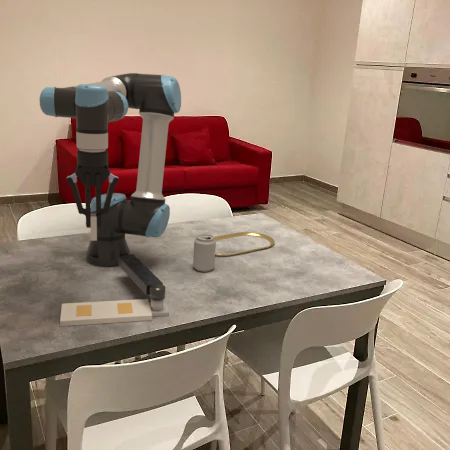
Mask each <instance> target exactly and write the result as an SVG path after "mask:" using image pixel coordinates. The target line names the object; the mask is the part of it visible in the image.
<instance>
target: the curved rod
mask: <svg viewBox="0 0 450 450" xmlns="http://www.w3.org/2000/svg"><path fill="white" fill-rule="evenodd" d="M245 236H249V237H257V238H261V239H264V240H267V241H268V242H269V245H268V246H263V247H257V248H253V249H248V250H244V251H243V250H242V251H239V252H234V253H227V254H226V253H225V254H224V253H222V254H221V253H215V257H231V256H232V257H233V256H236V255H237V256H238V255H241V254H246V253H252V252H255V251H256V252H257V251H260V250H266V249H269V248H271V247H273V246H274V244H275V239H274V238H273V237H272V236H269V235H267V234H264V233H260V232H253V231H239V232H235V233H229V234H222V235H217V236H214V239H215V241H216V242H217V241H220V240H221V241H222V240H227V239H231V238H237V237H245Z"/></svg>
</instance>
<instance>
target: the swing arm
mask: <svg viewBox="0 0 450 450" xmlns="http://www.w3.org/2000/svg"><path fill="white" fill-rule="evenodd" d="M117 266H119V267H120V269H122V270H123V272H124V273H125V274H126V275H127V276H128V277H129V278H130V279H131V280H132V281H133V283H134V284H135V285H136V287H138V288H139V289H140V290H141V292H143V294H144V295H145V296H146V297H147V296H149V299H150V300H151V299H152V300H163V299H165V298H166V286H165V285H164V283H163V282H162V280H160V279H159V278H158V277H157V276H156V274H155V273H153V271H151V270H150V269H149V268H148V267H147V266H146V265H145V264H144V263H143V262H142V261H141V260H140V259H139V258H138V257H137V256H136V255H135V254H133V253H132V254H131V253H130V255H123V256H118V265H117Z"/></svg>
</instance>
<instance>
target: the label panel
mask: <svg viewBox="0 0 450 450" xmlns="http://www.w3.org/2000/svg"><path fill="white" fill-rule="evenodd" d="M164 299H165V298H164ZM164 299H163V300H152V299H150V302H149V298H141V299H123V300H122V299H120V300H107V301H105V300H104V301H87V302H71V303H70V302H68V303H67V302H66V303H61V309H60V318H59V319H60V320H59V327H70V326H84V325H99V324H101V325H102V324H114V323H116V324H117V323H130V322H144V321H146V322H147V321H153V317H165V316H170V311H169V307H168V304H167V302H165V301H164Z"/></svg>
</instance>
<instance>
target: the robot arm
mask: <svg viewBox="0 0 450 450" xmlns="http://www.w3.org/2000/svg"><path fill="white" fill-rule="evenodd" d="M39 106H40V110H41V111H42V113H43V114H44V115H46V116H50V117H55V118H68V119H69V118H70V119H75V120H76V121H75V123H76V128H75V129H76V130H75V131H76V132H75V133H76V134H75V135H76V137H75V138H76V140H75V141H76V148H77V150H76V168H75V170H74V173H72V174H71V175H67V176H66V182H67V183H68V185H69V186H70V187H71V191H72V194H73V198H74V201H75V205H76V209H77V212H78V214H79V215H84V216H85V226H86V228H87V229H90V240H89V243H88V247H87V250H86V256H85V257H86V261H87V262H88V263H89V264H91V265H94V266H97V267H98V266H99V267H116V266H119V265H118V256H123V255H131V251H130V248H129V245H128V242H127V239H126V235H131V236H139V237H145V238H160V237H161V236H162V235H163V234H164V233H165V231H166V230H167V226H168V223H169V220H170V216H171V215H170V214H171V207H170V206H169V204H166V197H165V196H164V195H163V181H164V173H165V162H166V153H167V152H166V151H167V144H168V143H167V142H168V133H169V124H170V122H172V121H173V120H174V119H175V114H178V113H179V112H180V111H181V107H182V93H181V86H180V84H179V82H178V80H177V79H176V77H174V76H170V75H165V74H152V73H151V74H148V73H137V72H129V73H122V74H117V75H112V76H106V77H104V78H103V79H102V80H100V81H96V82H90V83H84V84H78V85H73V86H67V87H57V86H54V87H52V86H51V87H49V86H46V87H44V88H43V89H42V90H41V92H40V94H39ZM129 109H134V110H139V112H138V114H139V116H140V118H142V127H141V136H140V137H141V139H140V147H139V148H140V149H139V160H138V167H137V181H136V188H135V189H136V190H135V191H134V192H133V193H132V194H131V195H130V200H129V199H127V197H126V194H124V193H120V192H118V193H117V192H114V191H115V187H116V186H117V184H118V182H119V177H118V176H117V175H114V174H113V173H111V171H110V169H109V152H108V148H109V130H108V129H109V123H111V122H117V121H120V120H121V119H124V118H125V116H126V115H127V113H128V111H129ZM77 178H78V179H79V181H80V182H81V184H82V185H84V187H85V189H84V193H85V196H84V197H85V208H84V207H83V204H82V199H81V195H80V193H79V188H78V185H77V182H78V179H77ZM107 179H108V188H107V192H106V193H104V194H102V186H103V184H104V183H105V182H106V181H107ZM91 187H95V196H94V197H93V198H91Z"/></svg>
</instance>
